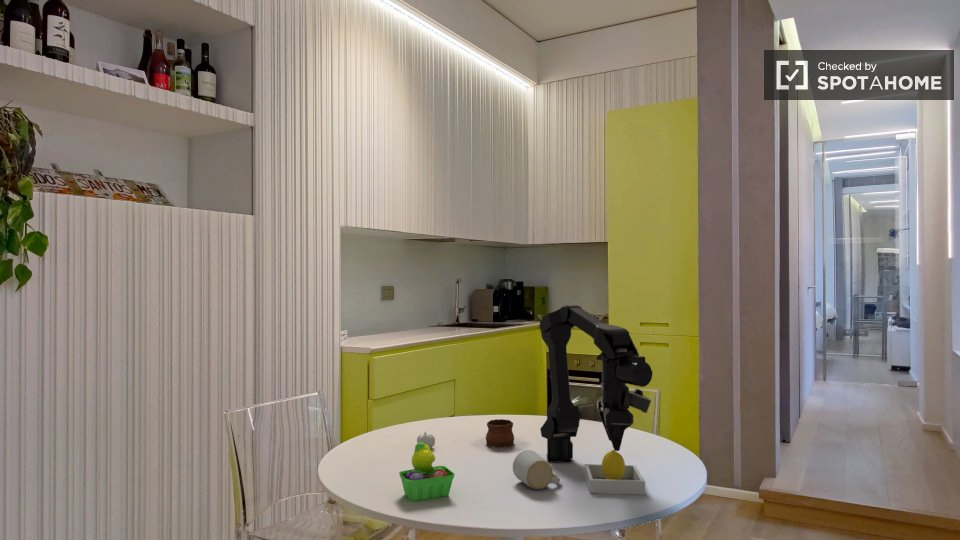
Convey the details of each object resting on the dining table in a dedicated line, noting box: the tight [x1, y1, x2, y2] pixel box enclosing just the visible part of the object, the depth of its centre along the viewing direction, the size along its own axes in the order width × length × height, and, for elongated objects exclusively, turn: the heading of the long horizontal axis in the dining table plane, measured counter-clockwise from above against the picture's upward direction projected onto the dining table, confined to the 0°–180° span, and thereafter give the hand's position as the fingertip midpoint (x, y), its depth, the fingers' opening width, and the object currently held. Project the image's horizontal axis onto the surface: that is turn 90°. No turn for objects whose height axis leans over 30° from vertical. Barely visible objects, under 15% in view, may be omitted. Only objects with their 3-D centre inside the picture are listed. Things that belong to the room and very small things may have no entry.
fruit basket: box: [398, 442, 455, 502], centre depth 144 cm, size 11×9×11 cm
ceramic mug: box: [512, 449, 561, 491], centre depth 150 cm, size 11×8×8 cm
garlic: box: [416, 430, 436, 449], centre depth 182 cm, size 6×5×5 cm
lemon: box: [601, 449, 626, 480], centre depth 150 cm, size 6×6×8 cm
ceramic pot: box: [485, 418, 524, 451], centre depth 187 cm, size 18×18×7 cm
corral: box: [584, 463, 646, 496], centre depth 150 cm, size 13×13×3 cm
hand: (614, 445), depth 150 cm, fingers open, 9 cm apart
